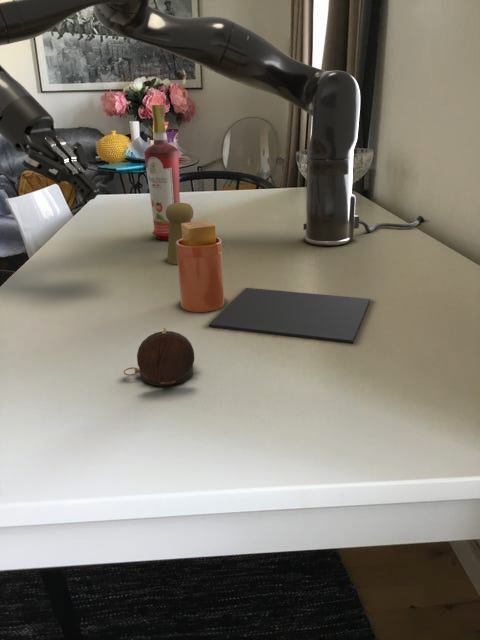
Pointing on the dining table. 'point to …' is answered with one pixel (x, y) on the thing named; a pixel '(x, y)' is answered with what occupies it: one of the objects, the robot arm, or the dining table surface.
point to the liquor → (162, 174)
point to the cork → (176, 226)
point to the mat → (294, 314)
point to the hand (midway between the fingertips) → (94, 196)
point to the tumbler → (200, 276)
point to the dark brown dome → (164, 358)
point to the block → (198, 233)
